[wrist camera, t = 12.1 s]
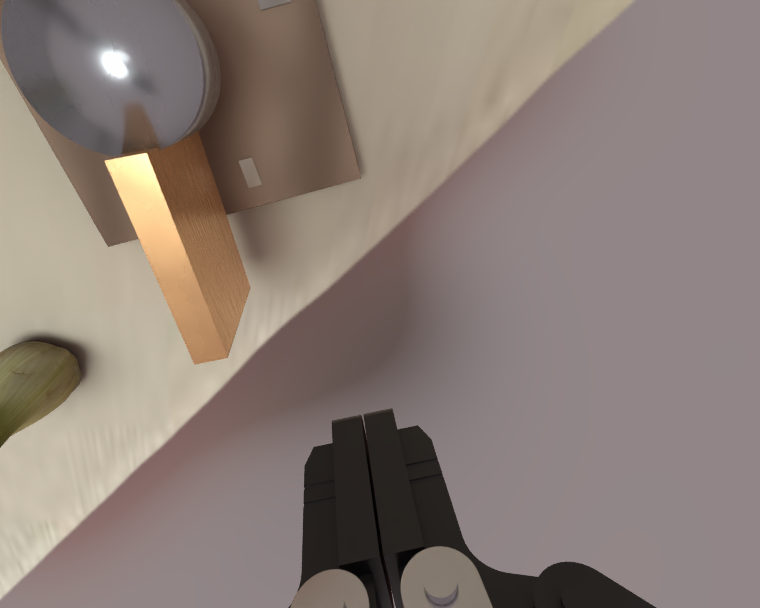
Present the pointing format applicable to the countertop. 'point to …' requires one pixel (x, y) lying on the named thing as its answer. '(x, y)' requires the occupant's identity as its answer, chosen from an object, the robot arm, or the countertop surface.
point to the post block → (243, 115)
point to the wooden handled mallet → (142, 137)
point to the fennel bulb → (33, 383)
